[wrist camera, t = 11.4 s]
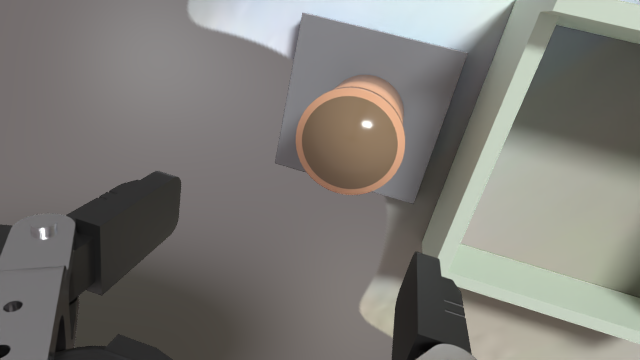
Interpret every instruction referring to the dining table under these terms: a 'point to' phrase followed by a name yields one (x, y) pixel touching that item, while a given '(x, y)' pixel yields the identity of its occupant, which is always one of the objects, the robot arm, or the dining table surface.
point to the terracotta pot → (353, 136)
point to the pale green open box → (482, 153)
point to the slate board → (382, 61)
